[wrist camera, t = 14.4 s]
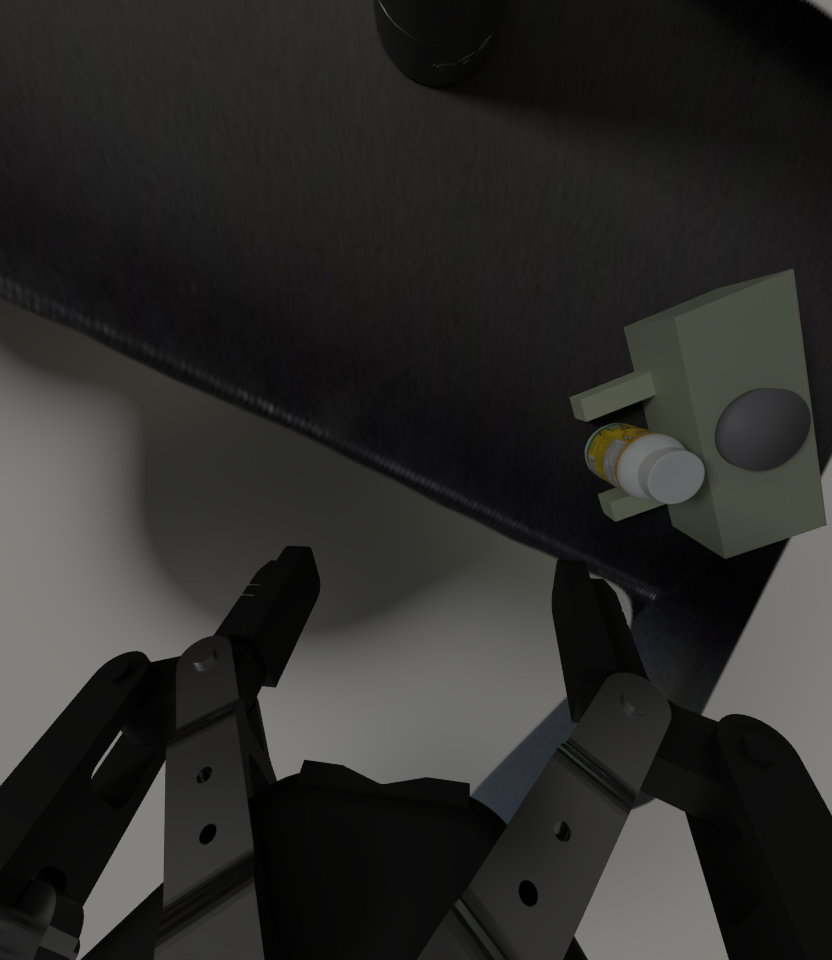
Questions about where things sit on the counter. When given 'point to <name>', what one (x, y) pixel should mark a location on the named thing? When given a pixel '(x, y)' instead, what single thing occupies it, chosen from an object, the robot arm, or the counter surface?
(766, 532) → the olive footed block
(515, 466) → the counter surface
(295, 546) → the robot arm
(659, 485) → the supplement bottle
